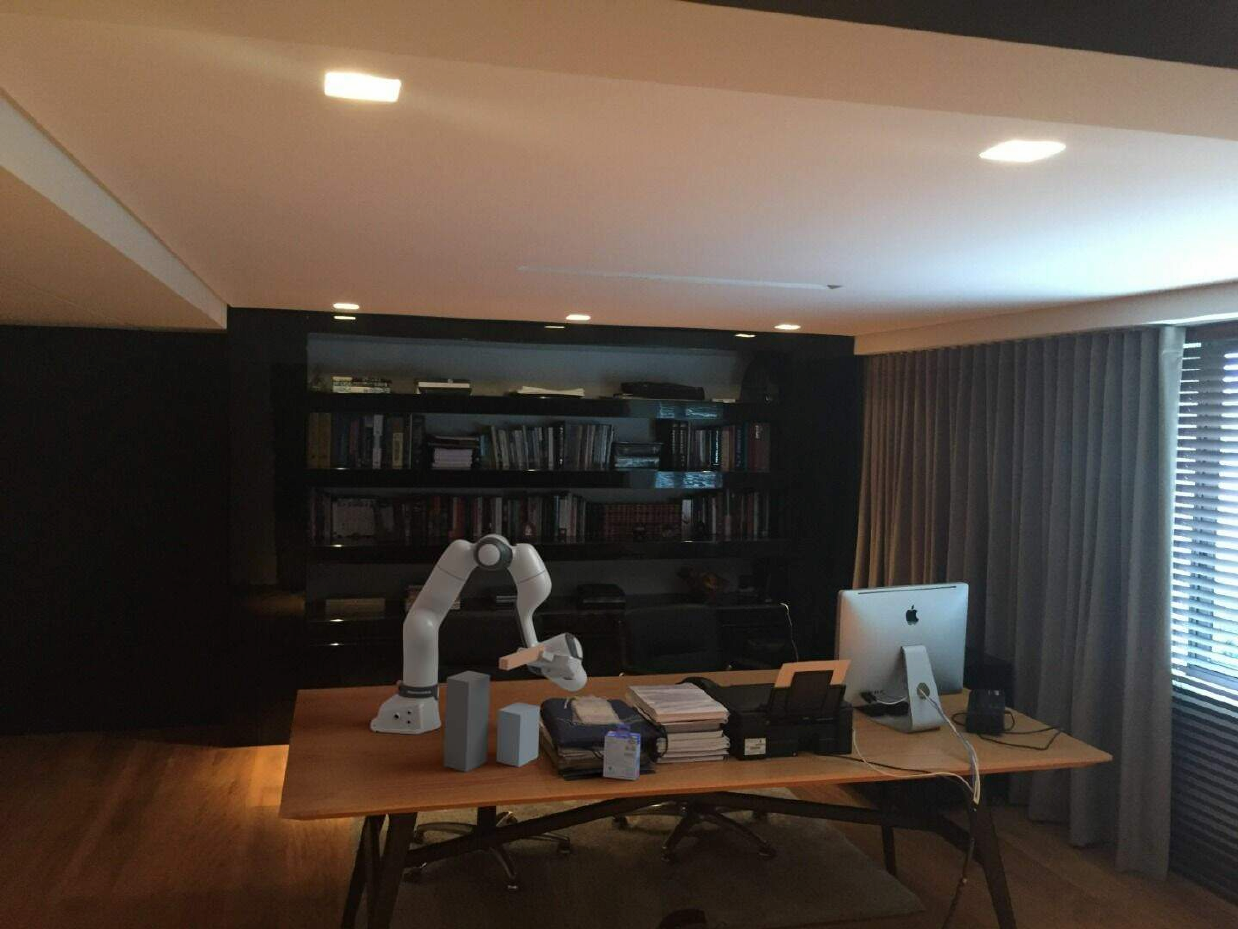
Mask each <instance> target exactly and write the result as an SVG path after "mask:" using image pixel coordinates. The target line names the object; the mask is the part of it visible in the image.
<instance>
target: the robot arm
mask: <svg viewBox="0 0 1238 929" xmlns="http://www.w3.org/2000/svg"><path fill="white" fill-rule="evenodd" d="M445 549H446V550H445V551H444V552H443V553H442V555H441V556H440V558H439V560H438V561H437V562H436V564H435V565H434V567H433V570H432V572H431V573H430V575H429V577H428V579H427V580H426V582H425V584H424V586H423V587H422V589H421V591H420V592H419V594H418V595H417V598H416V599H415V601H414V602H413V604H412V606H411V608H410V609H409V611H408V613H407V615H406V617H405V620H404V622H403V625H402V626H403V627H402V628H403V629H402V635H403V636H402V642H403V643H402V644H403V646H402V647H403V670H402V672H403V674H402V677H403V678H402V680H401V679H399V680H398V681H397V682H396V692H395V694H394V695H392V696H391V697H389V699H387V700H385V701H384V702H383V703H382V704H381V705H380V707H379V709H378V713H377V716H376V717H374V718H373V719H371V722H370V730H371V731H372V732H376V731H378V733H390V734H391V733H393V734H406V735H419V734H420V735H421V734H423V733H425V732H430V731H435V730H436V729H439V728H440V727H441V726H442V722H441V718H440V713H439V703H438V701H439V699H440V698H439V697H440V695H439V694H440V685H439V684H440V683H439V681H438V679H439V678H438V676H439V674H438V673H439V672H438V671H439V629H440V626H441V624H442V622H443V620H444V619H445V617H446V616H447V613H448V612H449V611H450V609H451V607H452V606H453V604H454V603H455V602H456V600H457V598H458V596H459V595H460V592H461V591H462V589H463V588H464V585H465V584H466V582H467V580H468V579H469V577H470V575H471V574H472V572H473V571H474V569H475V568H476V567H478V566H479V568H481V569H483V570H485V571H497V570H498V571H499V570H505V569H507V570H508V571H509V572H510V574H511V577H512V578H513V581H514V584H515V586H516V590H517V598H516V600H515V601H514V612H515V618H516V621H517V626H518V629H519V634H520V638H521V642H522V645H523V646H522V647H518V649H517V650H516V653H517V652H520V651H523V650H526V649H529V648H532V647H535V646H538V645H539V646H544V647H546V652H545V651H542V650H540V653H539V656H540V657H542V658H540V659H537V660H535V661H532V662H529V663H526V664H525V665H526V667H527V669H528V670H529V671H530V672H532V673H533V674H535V675H537V676H544V677H545V678H547V679H549V681H551V682H553V683H556V685H558V686H559V687H560V688H562V689H564V690H565V691H568V692H576V691H579V690H581V689H582V688H584V686H585V685H586V683H587V681H588V676H587V673H586V671H585V670H584V667H583V666H582V663H583V658H584V652H583V646H582V645H581V642H580V641H579V639H578V638H577V637H576V636H574V634H571V633H570V632H564V633H560V634H559V635H556V636H552V637H551V638H549V639H547V640H544V641H541V642H540V641H538V639H537V635H536V631H535V628H534V623H533V613H534V612H535V610H536V609H537V608H538V607H539V606H540V605H542V603H543V602H544V601H545V600H546V599H547V598H548V597H549V595H550V593H551V589H552V580H551V577H550V575H549V572H548V570H547V568H546V565H545V563H544V562H543V560H542V558H541V556H540V555H539V553H538V551H537V550H536V549H535V547H534V546H533V545H532V544H530V543H520V544H517V545H513V546H512V545H511V544H510V540H508V539H507V537H505V536H504V535H502V534H500V533H489V534H486V535H484V536H483V537H482V538H480V539H478V540H477V541H475V542H474V543H471V542H470V541H467V540H465V539H456V540H454V541H452V542H451V543H450V544H449V546H448V547H447V548H445Z"/></svg>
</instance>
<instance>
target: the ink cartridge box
mask: <svg viewBox="0 0 1238 929" xmlns="http://www.w3.org/2000/svg"><path fill="white" fill-rule="evenodd" d="M621 728H625V729H626V730H625V729H624V730H623V729H621ZM616 729H617V730H616V731H611V730H609V731H607V733H606V734H605V735H604V744H603V745H604V746H603V747H604V748H603V768H602V769H603V770H602V771H603V772H602V777H603V778H613V779H619V780H627V781H628V780H629V781H636V780H637V779H638V777H639V776H640V762H641V761H640V758H641V757H640V756H641V736H642V735H641V733H634V732H630V731H631V725H625V724H618V725H617V728H616Z"/></svg>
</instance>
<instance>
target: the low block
mask: <svg viewBox="0 0 1238 929" xmlns="http://www.w3.org/2000/svg"><path fill="white" fill-rule="evenodd" d="M540 709H541V707H540V706H539V705H534V704H529V703H525V702H519V701H517V702H514V703H512V704H509V705H506V706H504V707H501V708H500V709H498V712H497V737H496V738H497V739H496V740H497V741H496V743H497V744H496V745H497V746H496V763H497V762H498V763H501V764H506V765H508V766H512V767H517V768H520V767H522V766H523V765H526V764H528V763H529V761H530V762H531V760H532V761H534V760H536V759H537V757H538V758H539V742H540V741H539V737H540V734H539V733H540V717H541V716H540V714H541V710H540Z"/></svg>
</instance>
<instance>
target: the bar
mask: <svg viewBox="0 0 1238 929" xmlns="http://www.w3.org/2000/svg"><path fill="white" fill-rule="evenodd" d="M540 650H542V651H545V652H546V647H544V646H539V645H538V646H535V647H532V648H529V649H526V650H523V651H520V652H517V651H516V652H514V653H511V654H508V655H505V656H502V657H499V659H498V669H500V670H504V671H509V670H512V669H514V668H518V667H521V666H523V665H527V664H526V663H529V662H532V661H535V660H537V659H540V658H542V657H540V656H539V653H540Z"/></svg>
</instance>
